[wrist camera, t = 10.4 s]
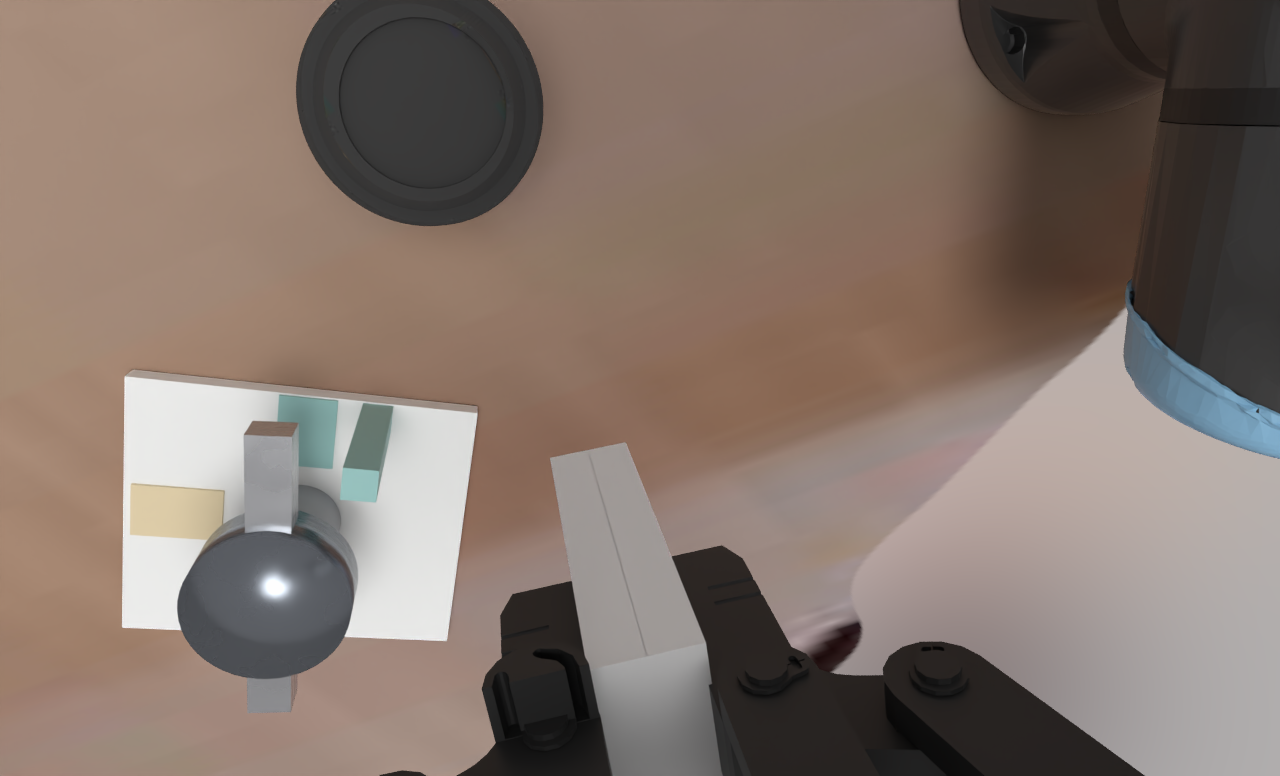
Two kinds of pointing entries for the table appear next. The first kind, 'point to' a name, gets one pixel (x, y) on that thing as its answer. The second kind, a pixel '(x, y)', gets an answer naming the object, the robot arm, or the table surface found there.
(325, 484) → the lock base
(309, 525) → the knob
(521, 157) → the coffee cup
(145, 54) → the table surface
